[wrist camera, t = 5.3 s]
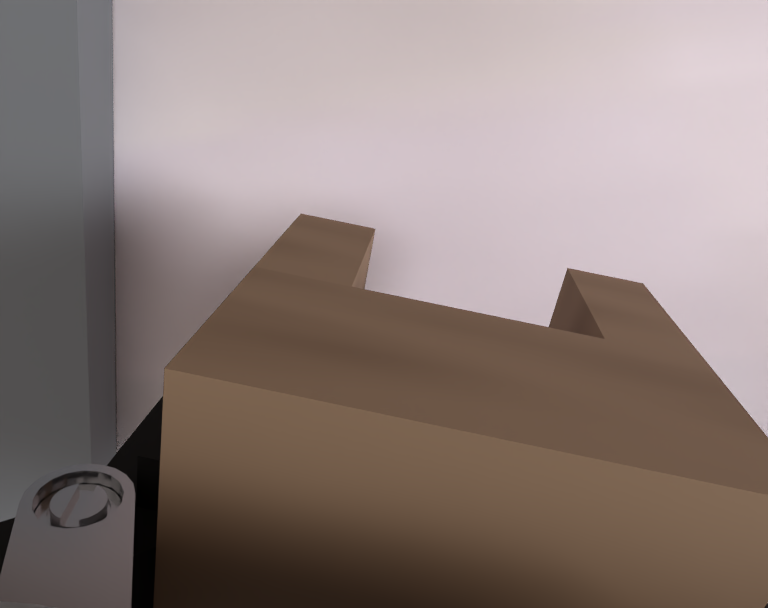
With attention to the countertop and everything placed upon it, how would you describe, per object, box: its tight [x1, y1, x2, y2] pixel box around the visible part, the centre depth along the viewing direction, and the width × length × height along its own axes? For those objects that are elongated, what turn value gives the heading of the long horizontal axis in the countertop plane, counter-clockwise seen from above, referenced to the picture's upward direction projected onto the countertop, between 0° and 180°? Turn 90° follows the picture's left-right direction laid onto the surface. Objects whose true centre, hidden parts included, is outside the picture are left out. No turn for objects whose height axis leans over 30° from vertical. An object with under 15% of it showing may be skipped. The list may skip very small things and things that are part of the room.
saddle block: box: [153, 214, 768, 608], centre depth 10 cm, size 7×6×6 cm
